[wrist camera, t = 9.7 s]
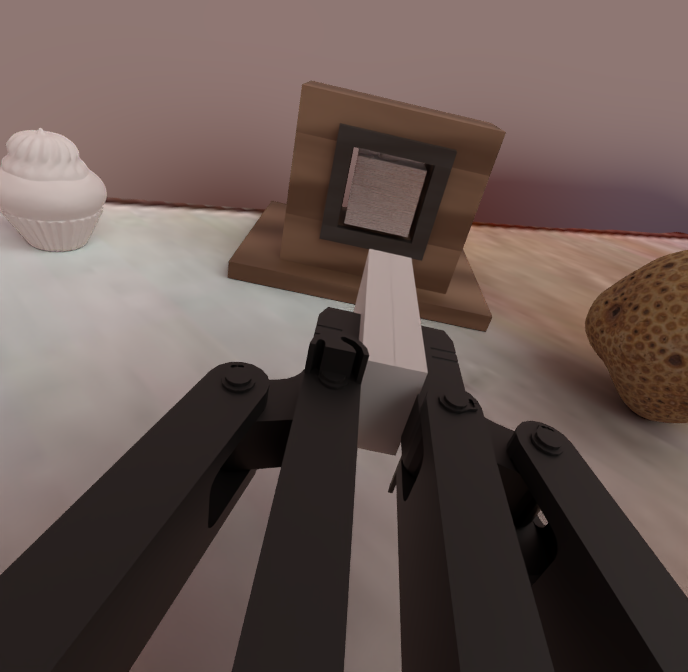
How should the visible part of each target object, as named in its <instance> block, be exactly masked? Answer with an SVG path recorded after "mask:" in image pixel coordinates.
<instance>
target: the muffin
mask: <svg viewBox="0 0 688 672" xmlns="http://www.w3.org/2000/svg"><path fill="white" fill-rule="evenodd" d="M6 148H7V150H8V154H7V155H6V156H5V157H4V158H3V159H2V161H1V166H0V211H1V213H2V214H3V215H4V216H5V217H6V218H7V219H8V221H9V222H10V223H11V224H12V225H13V226H14V227H15V228H16V229H17V230H18V232H19V233H20V234H21V235H22V236H23V237H24V238H25V239H26V240H27V242H28V243H29V244H30V245H32V246H33V247H35V248H37V249H41V250H46V251H51V252H53V251H56V252H59V251H62V252H64V251H71V250H75V249H78V248H80V247H83V246H84V245H85V244H86V243H87V242H88V240H89V238H90V236H91V234H92V232H93V230H94V228H95V226H96V224H97V222H98V220H99V218H100V216H101V214H102V212H103V210H102V209H103V207H102V206H103V204H104V203H105V201H106V197H107V191H106V187H105V185H104V183H103V182H102V180H101V179H100V178H99V177H98V176H97V175H96V174H95V173H93V172H92V171H90V170H89V169H88V167H87V166H86V165H85V163H84V162H83V161H82V160H81V159H80V158H79V151H78V149H77V147H76V146H75V145H74V144H73V142H72V141H70V140H69V139H67V138H66V137H64V136H63V135H60V134H57V133H53V132H47V131H43V129H42V128H39V129H38V130H36V131H35V130H28V131H27V130H26V131H22V132H18V133H15V134H14V135H12V136H11V138H10V139H9V140H8V141H7V143H6Z"/></svg>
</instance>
